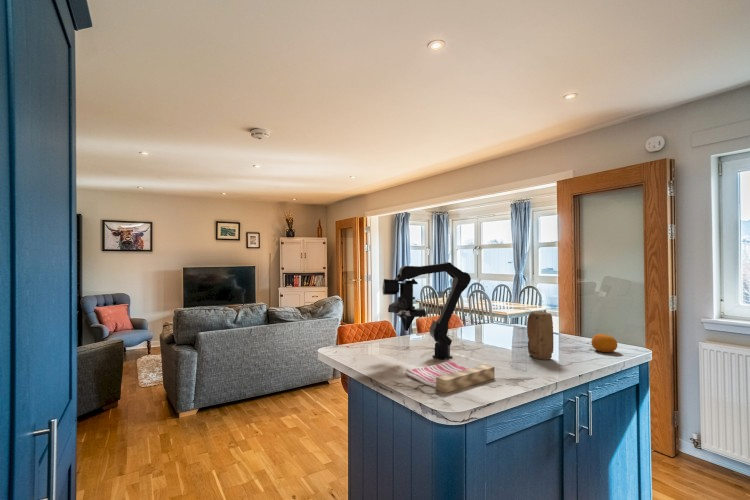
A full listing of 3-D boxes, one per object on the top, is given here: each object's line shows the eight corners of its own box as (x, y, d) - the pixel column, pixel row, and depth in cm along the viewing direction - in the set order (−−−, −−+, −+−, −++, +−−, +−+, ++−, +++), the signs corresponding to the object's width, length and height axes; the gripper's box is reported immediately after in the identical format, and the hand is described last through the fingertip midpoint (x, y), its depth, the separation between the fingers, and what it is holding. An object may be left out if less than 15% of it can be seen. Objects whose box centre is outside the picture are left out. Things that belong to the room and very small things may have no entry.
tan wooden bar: (485, 375, 140) (485, 364, 140) (494, 378, 136) (494, 366, 137) (436, 389, 124) (436, 377, 124) (445, 393, 121) (445, 380, 121)
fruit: (623, 353, 173) (623, 336, 173) (602, 354, 171) (602, 336, 171) (606, 348, 183) (606, 332, 183) (586, 349, 182) (586, 332, 182)
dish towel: (481, 378, 138) (481, 368, 138) (435, 390, 125) (435, 379, 125) (448, 366, 152) (448, 358, 152) (403, 376, 139) (403, 367, 139)
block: (555, 360, 161) (554, 313, 162) (539, 361, 160) (539, 313, 160) (539, 353, 172) (539, 310, 172) (524, 354, 170) (524, 310, 171)
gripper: (378, 294, 166) (378, 329, 166) (406, 297, 151) (406, 336, 151) (397, 292, 173) (397, 326, 172) (426, 296, 158) (426, 333, 158)
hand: (406, 330), depth 163 cm, fingers closed
